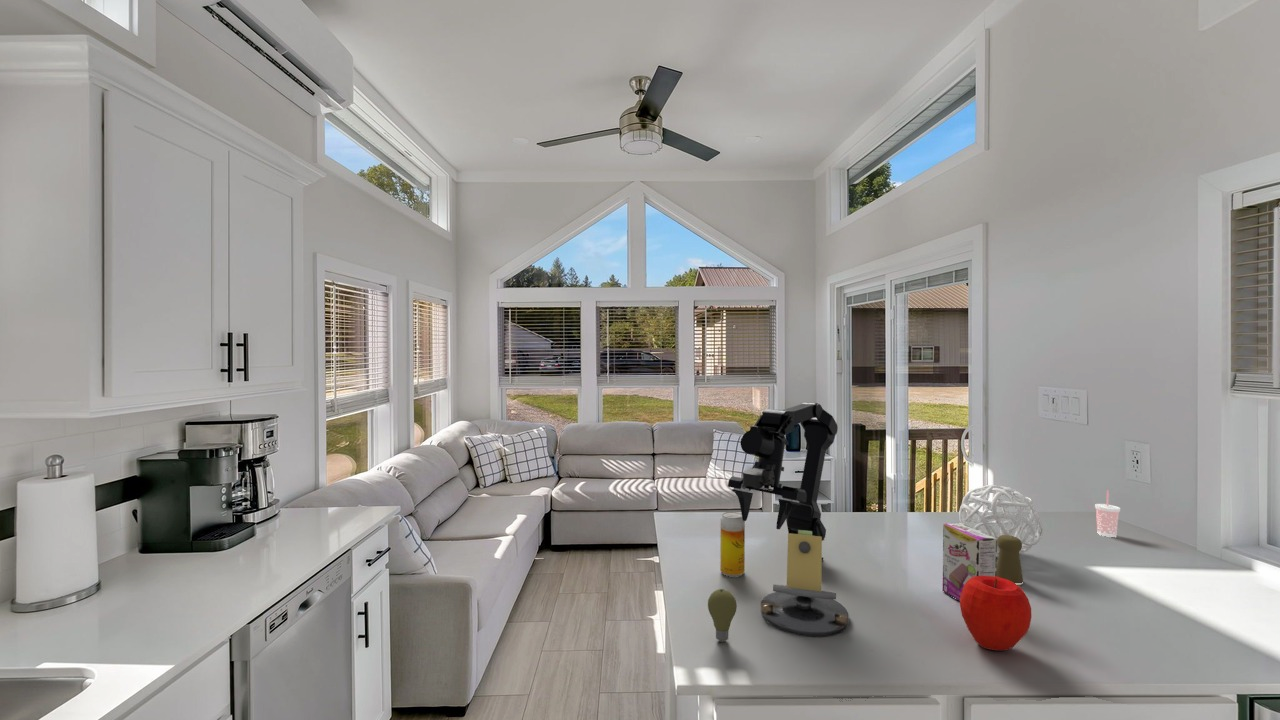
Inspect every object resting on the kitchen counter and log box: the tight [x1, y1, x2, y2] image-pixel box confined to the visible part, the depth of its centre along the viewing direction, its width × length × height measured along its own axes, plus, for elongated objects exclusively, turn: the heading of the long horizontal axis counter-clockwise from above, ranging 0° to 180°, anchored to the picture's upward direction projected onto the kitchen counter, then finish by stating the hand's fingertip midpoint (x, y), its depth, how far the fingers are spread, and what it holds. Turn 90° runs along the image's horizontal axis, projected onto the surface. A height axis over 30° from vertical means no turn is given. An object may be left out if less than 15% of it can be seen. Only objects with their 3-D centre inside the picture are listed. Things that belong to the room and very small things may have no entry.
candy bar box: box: [942, 522, 998, 602], centre depth 126 cm, size 11×5×16 cm, turn 9°
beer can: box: [719, 511, 746, 578], centre depth 142 cm, size 6×6×15 cm
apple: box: [958, 576, 1032, 651], centre depth 107 cm, size 12×12×13 cm
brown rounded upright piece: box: [996, 535, 1024, 583], centre depth 138 cm, size 6×6×11 cm
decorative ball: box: [958, 484, 1044, 557], centre depth 155 cm, size 20×20×19 cm
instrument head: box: [772, 530, 837, 600], centre depth 122 cm, size 13×13×13 cm
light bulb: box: [707, 588, 738, 643], centre depth 109 cm, size 6×6×10 cm
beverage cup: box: [1094, 489, 1121, 538], centre depth 173 cm, size 6×6×14 cm
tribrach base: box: [760, 591, 850, 638], centre depth 120 cm, size 19×18×4 cm
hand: (760, 524), depth 134 cm, fingers open, 9 cm apart
